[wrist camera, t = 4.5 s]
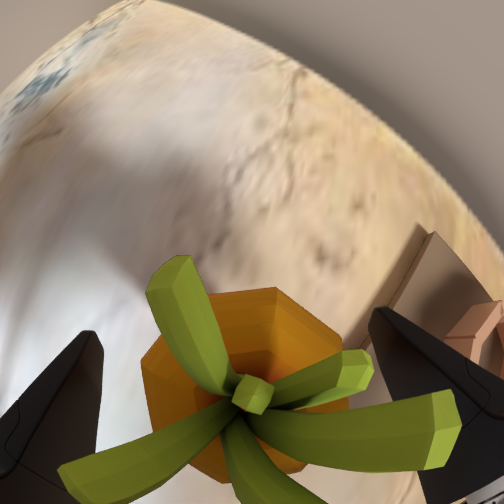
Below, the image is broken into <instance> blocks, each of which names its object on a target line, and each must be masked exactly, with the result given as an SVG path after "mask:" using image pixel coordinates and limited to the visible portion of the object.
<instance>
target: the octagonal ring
mask: <svg viewBox="0 0 504 504" xmlns="http://www.w3.org/2000/svg"><path fill="white" fill-rule="evenodd" d="M495 326H496V328H497V331H498V334H499V337H500V340H501V343H502V346H503V350H504V301H503V300H499V301H494V302H489V303H483V304H478V305H474V306H471V308H470V309H469V310H468V311H467V312H466V314H465V315H464V316H463V317H462V318H461V320H460V321H459V322H458V323H457V324H456V325H455V326H454V328H453V329H452V330H451V331H450V332H449V333H448V334H447V335H446V336H445V337H446V339H444V343H446V344H447V345H449V346H450V347H452V348H453V349H455V350H456V351H458V352H459V353H461V354H462V355H464V357H467V358H468V359H470V360H471V361H473V362H474V363H476V364H479V358H480V353H481V347H482V344H483V342H484V341H485V340H486V338H487V337H488V336H489V334H490V333H491V331H492V330H493V328H494V327H495ZM500 378H502V379H504V358H503V364H502V369H501V375H500Z"/></svg>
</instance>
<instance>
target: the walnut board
mask: <svg viewBox="0 0 504 504" xmlns="http://www.w3.org/2000/svg"><path fill="white" fill-rule="evenodd" d="M489 302H494V301H493V300H492V298H491V297H490V296H489V294H488V293H487V292H486V290H485V289H484V288H483V286H482V285H481V284H480V283H479V281H478V280H477V279H476V278H475V276H474V275H473V274H472V273H471V271H470V270H469V269H468V268H467V266H466V265H465V264H464V263H463V262H462V260H461V259H460V258H459V257H458V256H457V255H456V253H455V252H454V251H453V250H452V249H451V248H450V247H449V246H448V244H447V243H446V242H445V241H444V240H443V239H442V238H441V237H440V236H439V235H438V233H437V232H436V231H434V232H432V233H430V234H428V235H427V237H426V239H425V241H424V243H423V245H422V247H421V249H420V251H419V252H418V254H417V256H416V258H415V260H414V262H413V264H412V265H411V267H410V269H409V271H408V273H407V274H406V276H405V278H404V280H403V281H402V283H401V285H400V286H399V288H398V290H397V292H396V293H395V295H394V297H393V298H392V300H391V301H390V303H389V305H388V307H389V308H391V309H392V310H394V311H396V312H397V313H399V314H400V315H402V316H403V317H405V318H407V319H408V320H410V321H411V322H413V323H414V324H416V325H418V326H419V327H421V328H422V329H424V330H425V331H427V332H429V333H430V334H432V335H433V336H435V337H436V338H438V339H439V340H441V341H442V342H444V339H446V337H445V336H446V335H447V334H448V333H449V332H450V331H451V330H452V329H453V328H454V326H455V325H456V324H457V323H458V322H459V321H460V320H461V318H462V317H463V316H464V315H465V314H466V312H467V311H468V310H469V309H470V308H471V306H474V305H478V304H483V303H489ZM359 349H362V350H364V351H365V352H366V353H368V354H369V355H370V356H371V359H372V363H373V367H374V373H373V375H372V377H371V379H370V381H369V384H368V386H367V388H366V390H364V391H361V392H358V393H355V394H352V395H349V396H348V400H349V410H350V409H356V408H362V407H367V406H372V405H377V404H382V403H387V402H393V401H392V398H391V396H390V393H389V391H388V388H387V386H386V383H385V381H384V378H383V376H382V373H381V371H380V368H379V365H378V362H377V358H376V355H375V351H374V348H373V345H372V341H371V338H370V335H368V337H367V338H366V340H365V341H364V342H363V344H362V345H361V347H360V348H359ZM503 358H504V350H503V346H502V343H501V340H500V337H499V334H498V331H497V328H496V326H495V327H494V328H493V330H492V331H491V333H490V334H489V336H488V337H487V338H486V340H485V341H484V342H483V344H482V347H481V353H480V358H479V364H478V365H479V366H481V367H482V368H484V369H486V370H487V371H489V372H491V373H493V374H494V375H496V376H498V377H500V375H501V369H502V364H503Z"/></svg>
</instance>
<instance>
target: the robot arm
mask: <svg viewBox="0 0 504 504" xmlns="http://www.w3.org/2000/svg"><path fill="white" fill-rule="evenodd" d="M368 331H369V335H370V338H371V341H372V345H373V348H374V351H375V355H376V358H377V362H378V365H379V368H380V371H381V373H382V376H383V378H384V381H385V383H386V386H387V388H388V391H389V393H390V396H391V398H392V401H398V400H403V399H408V398H413V397H417V396H421V395H426V394H430V393H434V392H439V391H443V390H448V389H451V391H452V393H453V395H454V399H455V404H456V407H457V410H458V413H459V416H460V420H461V423H462V427H461V429H460V432H459V434H458V437H457V439H456V442H455V444H454V447H453V449H452V451H451V454H450V456H449V458H448V460H447V462H446V463H445V465H444V466H443V467H438V468H433V469H427V470H419V471H417V473H418V476H419V479H420V482H421V486H422V489H423V492H424V496H425V499H426V503H427V504H451V503H453V502H455V501H457V500H459V499H462V498H464V497H465V498H466V500H465V501H463V502H462V503H460V504H504V379H502V378H500V377H498V376H496V375H494V374H493V373H491V372H489V371H487V370H486V369H484V368H482V367H481V366H479V365H478V364H476V363H474V362H473V361H471V360H470V359H468V358H467V357H464V355H462V354H461V353H459V352H458V351H456V350H455V349H453V348H452V347H450V346H449V345H447V344H446V343H444V342H442V341H441V340H439V339H438V338H436V337H435V336H433V335H432V334H430V333H429V332H427V331H425V330H424V329H422V328H421V327H419V326H418V325H416V324H414V323H413V322H411V321H410V320H408V319H407V318H405V317H403V316H402V315H400V314H399V313H397V312H396V311H394V310H392V309H391V308H389V307H388V306H379V307H375V308H374V309H373V312H372V315H371V318H370V321H369V324H368ZM103 362H104V349H103V346H102V344H101V342H100V340H99V338H98V336H97V334H96V332H95V331H93V330H84V331H82V332H80V333H79V334H78V335H77V336H76V337H75V338H74V339H73V340H72V341H71V343H70V344H69V345H68V346H67V347H66V348H65V349H64V350H63V351H62V352H61V353H60V354H59V355H58V356H57V357H56V358H55V359H54V360H53V361H52V362H51V363H50V364H49V365H48V366H47V367H46V368H45V370H44V371H43V372H42V373H41V374H40V375H39V376H38V377H37V378H36V379H35V380H34V381H33V383H32V384H31V385H30V386H29V387H28V388H27V389H26V390H25V391H24V392H23V394H22V395H21V396H20V397H19V398H18V400H16V401H15V403H14V404H13V405H12V406H11V407H10V408H9V409H8V410H7V412H6V413H5V414H4V415H3V416H2V417H1V418H0V504H81V503H80V502H78V501H77V500H76V499H75V498H74V497H73V496H72V495H71V494H70V493H69V492H68V490H67V489H66V487H65V485H64V483H63V481H62V479H61V477H60V475H59V473H58V471H57V469H58V468H59V467H60V466H61V465H63V464H66V463H69V462H72V461H75V460H77V459H80V458H83V457H86V456H88V455H91V454H94V453H95V450H96V438H97V428H98V420H99V412H100V404H101V396H102V378H103Z"/></svg>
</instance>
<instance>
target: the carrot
mask: <svg viewBox="0 0 504 504" xmlns="http://www.w3.org/2000/svg"><path fill="white" fill-rule="evenodd" d="M145 294H146V297H147V300H148V303H149V305H150V308H151V311H152V314H153V316H154V319H155V322H156V324H157V326H158V328H159V330H160V332H161V335H160V336H159V338H158V339H157V340H156V341H155V343H154V344H153V345H152V346H151V348H150V349H149V350H148V351H147V353H146V354H145V355H144V357H143V358H142V359H141V370H142V376H143V383H144V389H145V394H146V400H147V405H148V410H149V415H150V420H151V425H152V429H153V433H151V434H148V435H146V436H144V437H141V438H139V439H136V440H134V441H131V442H128V443H125V444H123V445H120V446H117V447H114V448H111V449H107V450H104V451H101V452H98V453H94V454H91V455H88V456H86V457H83V458H80V459H77V460H75V461H72V462H69V463H66V464H63V465H61V466H60V467H59V468H58V469H57V471H58V473H59V475H60V477H61V479H62V481H63V483H64V485H65V487H66V489H67V490H68V492H69V493H70V494H71V495H72V496H73V497H74V498H75V499H76V500H77V501H78V502H80V503H81V504H129V503H131V502H133V501H135V500H137V499H139V498H141V497H142V496H144V495H146V494H148V493H150V492H152V491H154V490H155V489H157V488H159V487H161V486H162V485H163V484H164V483H166V482H167V481H168V480H169V479H170V478H172V477H173V476H174V475H175V474H176V473H178V472H179V471H180V470H181V469H182V468H183V467H185V466H186V465H187V464H190V465H191V466H193V467H194V468H196V469H198V470H199V471H201V472H203V473H204V474H206V475H208V476H209V477H211V478H213V479H214V480H216V481H218V482H220V483H222V484H225V483H232V486H233V489H234V492H235V495H236V497H237V498H238V500H239V501H240V502H241V504H328V503H327V502H325V501H324V500H322V499H321V498H319V497H318V496H316V495H315V494H314V493H312V492H311V491H309V490H308V489H306V488H305V487H303V486H302V485H300V484H299V483H297V482H296V481H295V480H293V479H292V478H290V477H289V476H288V475H287V474H292V473H296V472H301V471H302V470H303V469H304V468H305V466H306V465H307V464H308V463H309V464H314V465H319V466H324V467H330V468H335V469H342V470H348V471H356V472H366V473H388V472H402V471H419V470H427V469H433V468H438V467H443V466H444V465H445V463H446V462H447V460H448V458H449V456H450V454H451V451H452V449H453V447H454V444H455V442H456V439H457V437H458V434H459V432H460V429H461V427H462V423H461V420H460V416H459V413H458V410H457V407H456V404H455V399H454V395H453V393H452V391H451V389H448V390H443V391H439V392H434V393H430V394H426V395H421V396H417V397H413V398H408V399H403V400H398V401H393V402H387V403H382V404H377V405H372V406H367V407H362V408H356V409H350V410H349V400H348V396H349V395H352V394H355V393H358V392H361V391H364V390H366V388H367V386H368V384H369V381H370V379H371V377H372V375H373V373H374V367H373V363H372V359H371V356H370V355H369V354H368V353H366V352H365V351H364V350H362V349H357V350H344V351H343V344H342V338H341V337H340V335H339V334H337V333H336V332H335V331H333V330H332V329H331V328H329V327H328V326H327V325H325V324H324V323H323V322H321V321H320V320H319V319H317V318H316V317H315V316H313V315H312V314H311V313H309V312H308V311H307V310H305V309H304V308H303V307H302V306H300V305H299V304H298V303H296V302H295V301H294V300H292V299H291V298H290V297H288V296H287V295H286V294H284V293H283V292H282V291H281V290H279V289H278V288H277V287H270V288H262V289H254V290H245V291H237V292H228V293H219V294H210V295H207V292H206V290H205V287H204V285H203V282H202V280H201V278H200V276H199V273H198V271H197V269H196V267H195V264H194V262H193V260H192V257H191V255H176V256H175V257H173V258H172V259H170V260H169V261H167V262H166V263H164V264H163V265H162V266H161V267H160V268H159V269H158V270H157V271H156V272H155V273H154V274H153V276H152V278H151V280H150V283H149V285H148V287H147V290H146V292H145Z"/></svg>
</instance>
